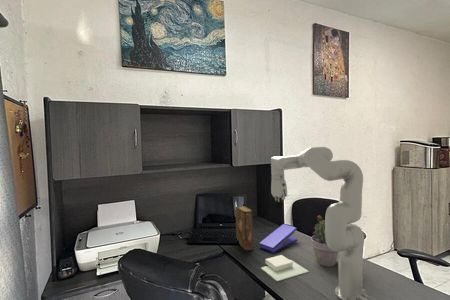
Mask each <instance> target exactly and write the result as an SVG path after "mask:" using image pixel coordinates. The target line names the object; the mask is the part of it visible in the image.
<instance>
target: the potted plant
mask: <svg viewBox="0 0 450 300" xmlns="http://www.w3.org/2000/svg"><path fill="white" fill-rule="evenodd" d="M316 221H318V223H316V224H314V230H315V231H313V235H312V236H311V238H310V241H311V247H312V248H313V251H314V256H315V259H316V260H315V261H316V263H317V264H318V265H320V266H323V267H333V266H336V262H337V260H338V252H335V251H333V250H331V249H330V248H329V247H328V245H327V243H326V240H325V219H324V217H322V216H321V215H320V214H319V215H317V220H316Z"/></svg>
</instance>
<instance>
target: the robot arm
mask: <svg viewBox="0 0 450 300" xmlns="http://www.w3.org/2000/svg"><path fill="white" fill-rule="evenodd" d="M333 158H334V155H333V151H332V150H331V149H330V148H329V147H326V146H315V147H308V148H307V149H305V150H304V151H301V152H300V153H299V154H296V155H285V156H279V155H278V156H272V157H271V158H270V167H271V168H270V170H271V185H270V191H271V192H270V193H271V195H272V197H273V198H274V201H275V206H276V207H275V208H276V209H282V208H283V201H284V200H286V197H288V188H287V187H288V185H287V182H286V177H285V171H287V170H295V169H301V168H310V169H311V170H312V171H313V172H314V173H315V174H317V176H319V177H320V178H321V179H323V180H324V181H327V182H332V181H338V180H339V181H340V180H343V183H342V185H341V187H340V190H339V191H340V192H339V194H340V195H339V201H338V202H335V203H331V204H330V205H329V206H328V207H327V208H326V211H325V217H324V218H325V219H324V220H325V240H326V243H327V245H328V247H329V248H330V249H331V250H333V251H335V252H338V255H337V264H338V265H337V268H338V269H337V271H338V275H337V276H338V277H337V278H338V286H336V287H335V289H334V294H335V296H336V297H337V298H338V299H340V300H370V299H371V297H370V296H368V294H366V289H364V288H363V252H364V251H363V249H364V245H365V234H364V232H363V230H362V228H361V227H359V226H358V225H357V224H354V223H357V222H359V221H360V220H361V217H362V214H363V213H362V211H363V210H362V207H363V206H362V205H363V202H362V201H363V187H364V186H363V183H364V174H363V171H362V169H361V167H360V166H359V165H358V164H357V163H356V162H354V161H353V160H352V161H351V160H350V159H349V160H348V159H337V160H333Z"/></svg>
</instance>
